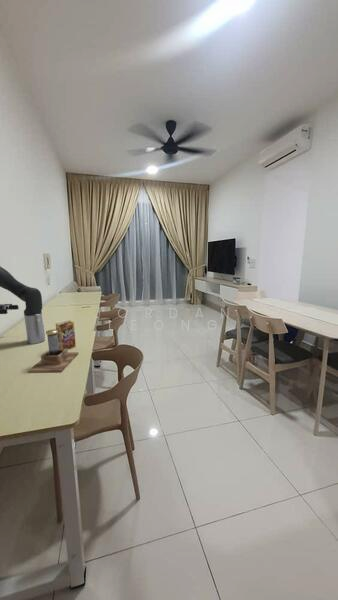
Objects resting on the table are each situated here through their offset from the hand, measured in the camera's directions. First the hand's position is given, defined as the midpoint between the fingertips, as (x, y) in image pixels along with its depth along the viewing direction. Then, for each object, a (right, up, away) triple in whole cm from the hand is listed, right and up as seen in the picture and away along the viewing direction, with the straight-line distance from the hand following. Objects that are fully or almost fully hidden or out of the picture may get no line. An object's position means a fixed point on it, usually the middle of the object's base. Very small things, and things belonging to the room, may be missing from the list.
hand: (12, 309), depth 117 cm
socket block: (+20, -26, +1) cm, 33 cm away
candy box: (+19, -23, +19) cm, 35 cm away
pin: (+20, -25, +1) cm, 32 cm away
